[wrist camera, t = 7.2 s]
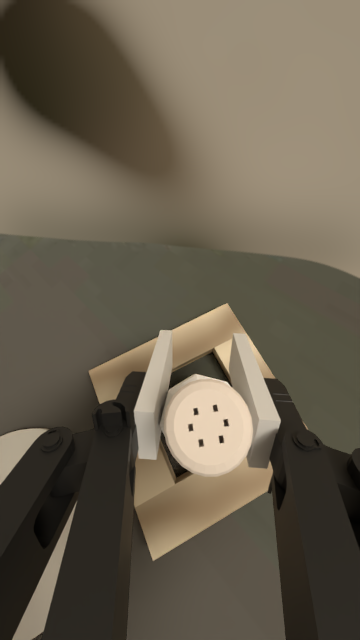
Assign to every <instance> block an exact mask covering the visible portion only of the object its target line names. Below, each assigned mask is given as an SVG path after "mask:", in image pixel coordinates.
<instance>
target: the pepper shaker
mask: <svg viewBox="0 0 360 640" xmlns="http://www.w3.org/2000/svg"><path fill="white" fill-rule="evenodd" d="M160 427H161V430H162V432H163V434H164V436H165V439H166V444H167V446H168V448H169V450H170V452H171V454H172V456H173V457H174V458H175V459H176V460H177V462H178V463H179V464H180V465H181V466H182V467H184V468H185V469H187V470H188V471H190V472H191V473H194V474H197V475H200V476H204V477H217V476H220V475H223V474H226V473H229V472H230V471H232V470H233V469H235V468H236V467H237V466H239V465H240V463H241V462H242V461H243V459H244V458H245V457H246V456H247V453H248V451H249V448H250V446H251V443H252V435H253V425H252V417H251V414H250V412H249V409H248V406H247V404H246V403H245V401H244V400H243V398H242V397H241V395H240V394H239V393H237V392H236V391H235V390H234V389H233V388H232V387H231V386H230V385H229V384H228V382H226V381H222V380H218V379H214V378H210V377H206V376H202V375H198V374H194V375H191V376H190V377H188V378H187V379H185V380H183V381H182V382H180V383H178V384H177V385H175V386H174V387H172V388H170V389H169V390H168V394H167V398H166V402H165V406H164V409H163V413H162V417H161V421H160Z"/></svg>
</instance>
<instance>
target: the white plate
mask: <svg viewBox="0 0 360 640" xmlns="http://www.w3.org/2000/svg"><path fill="white" fill-rule="evenodd" d="M47 430H49V429H47V428H30V429H24V430H18V431H14V432H11V433H7V434H5V435H3V436H0V485H1V483H2V482H3V481H4V480H5V478H6V477H7V476H8V474H9V473H10V472H11V471H12V469H13V468H14V467H15V465H16V464H17V463H18V462H19V460H20V459H21V458H22V456H23V455H24V454H25V453H26V451H27V450H28V449H29V447H30V446H31V445H32V444H33V442H34V441H35V440H36V439H37V438H38V437H39V436H40V435H41V434H43V433H44V432H46V431H47ZM76 503H77V502H76ZM75 507H76V504H75V506H74V508H73V510H72V512H71V515H70V517H69V519H68V521H67V523H66V525H65V527H64V530H63V532H62V534H61V536H60V538H59V540H58V542H57V545H56V547H55V549H54V551H53V553H52V555H51V557H50V560H49V562H48V564H47V566H46V568H45V570H44V572H43V575H42V577H41V579H40V581H39V583H38V585H37V587H36V590H35V592H34V594H33V596H32V598H31V600H30V602H29V605H28V607H27V609H26V611H25V613H24V615H23V617H22V620H21V622H20V624H19V626H18V628H17V630H16V632H15V635H14V637H13V639H12V640H32V639H33V638H35V637H36V636H38V635H39V634H40V633H42V632H43V631H44V628H45V624H46V620H47V616H48V612H49V608H50V605H51V601H52V597H53V593H54V589H55V585H56V581H57V577H58V573H59V569H60V566H61V562H62V558H63V554H64V550H65V546H66V542H67V538H68V534H69V531H70V527H71V523H72V519H73V515H74V511H75Z"/></svg>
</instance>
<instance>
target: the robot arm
mask: <svg viewBox="0 0 360 640" xmlns="http://www.w3.org/2000/svg"><path fill="white" fill-rule="evenodd" d="M171 371H172V330H160V333H159V336H158V339H157V342H156V345H155V348H154V351H153V354H152V358H151V361H150V364H149V367H148V370H147V372H138V371H132V372H131V373H130V374H129V375H128V376H127V377H126V378H125V380H124V382H123V384H122V386H121V389H120V391H119V393H118V395H117V397H116V400H114V399H113V400H109V401H105V402H103V403H101V404H100V405H99V406H97V407H96V408H95V409H94V411H93V413H92V418H93V423H94V427H95V428H94V429H92V430H89V431H85V432H80V433H76V434H72V432H71V431H70V430H69V429H68V428H65V427H55V428H52V429H49V430H47V431H46V432H44V433H43V434H41V435H40V436H39V437H38V438H37V439H36V440H35V441H34V442H33V444H32V445H31V446H30V447H29V449H28V450H27V451H26V453H25V454H24V455H23V456H22V458H21V459H20V460H19V462H18V463H17V464H16V465H15V467H14V468H13V469H12V471H11V472H10V473H9V474H8V476H7V477H6V478H5V480H4V481H3V482H2V483H1V485H0V640H12V639H13V637H14V635H15V632H16V630H17V628H18V626H19V624H20V622H21V620H22V617H23V615H24V613H25V611H26V609H27V607H28V605H29V602H30V600H31V598H32V596H33V594H34V592H35V590H36V587H37V585H38V583H39V581H40V579H41V577H42V575H43V572H44V570H45V568H46V566H47V564H48V562H49V560H50V557H51V555H52V553H53V551H54V549H55V547H56V545H57V542H58V540H59V538H60V536H61V534H62V532H63V530H64V527H65V525H66V523H67V521H68V519H69V517H70V515H71V512H72V510H73V508H74V506H75V504H76V507H75V511H74V515H73V519H72V523H71V527H70V531H69V534H68V538H67V542H66V546H65V550H64V554H63V558H62V562H61V566H60V569H59V573H58V577H57V581H56V585H55V589H54V593H53V597H52V601H51V605H50V608H49V612H48V616H47V620H46V624H45V628H44V632H43V636H42V640H126V636H127V618H128V600H129V583H130V565H131V547H132V530H133V512H134V494H135V476H136V467H135V461H136V457H137V453H138V456H139V459H151V460H157V454H158V448H159V442H160V436H161V427H160V421H161V417H162V413H163V409H164V406H165V402H166V398H167V394H168V389H169V383H170V377H171ZM229 373H230V378H231V383H232V388H233V389H234V390H235V391H236V392H237V393H239V394H240V395H241V397H242V398H243V400H244V401H245V403H246V404H247V406H248V409H249V412H250V414H251V417H252V425H253V435H252V443H251V446H250V448H249V451H248V453H247V456H246V457H247V462H248V467H251V468H264V469H267V468H268V465H269V461H270V462H271V466H272V469H273V474H272V477H271V480H270V484H269V487H268V493H270V494H271V491H272V495H273V506H274V516H275V527H276V538H277V549H278V560H279V570H280V581H281V592H282V603H283V614H284V624H285V635H286V640H360V448H358V449H355V450H354V451H353V452H352V454H351V455H350V454H347V453H344V452H341V451H338V450H335V449H332V448H330V447H328V446H325V445H324V444H323V443H322V441H321V440H320V439H319V438H318V437H317V436H316V435H315V434H314V433H312V432H310V431H309V430H307V429H306V427H305V425H304V423H303V421H302V419H301V417H300V415H299V413H298V411H297V409H296V407H295V405H294V403H292V399H291V397H290V396H289V394H288V392H287V390H286V388H285V386H284V385H283V384H282V383H281V382H280V381H279V380H278V379H275V378H263V376H262V373H261V371H260V368H259V366H258V363H257V361H256V358H255V356H254V354H253V351H252V349H251V346H250V344H249V341H248V339H247V336H246V334H240V333H233V338H232V346H231V354H230V362H229ZM76 502H77V503H76Z"/></svg>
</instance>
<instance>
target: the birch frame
mask: <svg viewBox="0 0 360 640" xmlns="http://www.w3.org/2000/svg"><path fill="white" fill-rule="evenodd" d="M233 333H240V334H246V332H245V331H244V329H243V327H242V326H241V324H240V323H239V321H238V320H237V318H236V317H235V315H234V313H233V312H232V310H231V309H230V307H229V306H228V304H227V303H226V304H224V305H222V306H220V307H218V308H216V309H214V310H212V311H210V312H208V313H206V314H204V315H202V316H200V317H198V318H196V319H194V320H192V321H190V322H188V323H186V324H184V325H182V326H179V327H177V328H175V329H173V330H172V371H171V373H172V372H174V371H176V370H178V369H180V368H182V367H184V366H186V365H188V364H190V363H191V362H193V361H195V360H197V359H199V358H201V357H203V356H205V355H207V354H209V353H211V352H213V353H214V355H215V357H216V358H217V360H218V362H219V364H220V365H221V367H222V369H223V371H224V373H225V374H226V376H227V378H228V380H229V381H230V383H231V378H230V373H229V362H230V354H231V346H232V338H233ZM246 336H247V339H248V341H249V344H250V346H251V349H252V351H253V354H254V356H255V358H256V361H257V363H258V366H259V368H260V371H261V373H262V376H263V378H275V377H274V376H273V374H272V373H271V371H270V369H269V368H268V366H267V365H266V363H265V362H264V360H263V359H262V357H261V355H260V354H259V352H258V351H257V349H256V348H255V346H254V345H253V343H252V341H251V340H250V338H249V337H248V335H247V334H246ZM157 339H158V337H157V338H155V339H153V340H151V341H149V342H147V343H145V344H143V345H141V346H139V347H137V348H135V349H133V350H131V351H128V352H126V353H124V354H122V355H120V356H118V357H116V358H114V359H112V360H110V361H108V362H106V363H104V364H102V365H100V366H98V367H96V368H94V369H92V370H90V371H89V374H90V377H91V380H92V383H93V386H94V389H95V392H96V395H97V397H98V400H99V403H100V404H101V403H103V402H105V401H109V400H113V399H114V400H116V397H117V395H118V393H119V391H120V389H121V386H122V384H123V382H124V380H125V378H126V377H127V376H128V375H129V374H130V373H131V372H132V371H138V372H147V370H148V367H149V364H150V361H151V358H152V354H153V351H154V348H155V345H156V342H157ZM231 385H232V383H231ZM303 423H304V422H303ZM304 425H305V424H304ZM305 427H306V425H305ZM306 429H307V427H306ZM307 430H308V429H307ZM135 467H136V476H135V494H134V506H135V509H136V512H137V515H138V518H139V521H140V524H141V527H142V530H143V533H144V536H145V539H146V542H147V545H148V548H149V551H150V553H151V556H152V559H153V561H154V560H155V559H157V558H159V557H160V556H162V555H164V554H165V553H167V552H169V551H170V550H172V549H173V548H175V547H177V546H178V545H180V544H182V543H183V542H185V541H186V540H188V539H190V538H191V537H193V536H195V535H196V534H198V533H199V532H201V531H203V530H204V529H206V528H208V527H209V526H211V525H213V524H214V523H216V522H217V521H219V520H221V519H222V518H224V517H226V516H227V515H229V514H230V513H232V512H234V511H235V510H237V509H239V508H240V507H242V506H243V505H245V504H247V503H248V502H250V501H252V500H253V499H255V498H257V497H258V496H260V495H261V494H263V493H265V492H266V491H268V487H269V484H270V480H271V477H272V474H273V469H272V466H271V462H270V461H269V465H268V468H267V469H264V468H251V467H248V462H247V457H245V458H244V459H243V461H242V462H241V463H240V465H239V466H237V467H236V468H235V469H233V470H232V471H230V472H229V473H226V474H223V475H220V476H217V477H204V476H200V475H197V474H194V473H191V472H190V471H187V472H186V473H184V474H182V475H180V476H179V477H177V478H176V475H175V473H174V471H173V468H172V466H171V463H170V461H169V459H168V456H167V454H166V451H165V449H164V446H163V444H162V442H161V439H160V442H159V448H158V454H157V460H151V459H139V456H138V453H137V457H136V461H135Z"/></svg>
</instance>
